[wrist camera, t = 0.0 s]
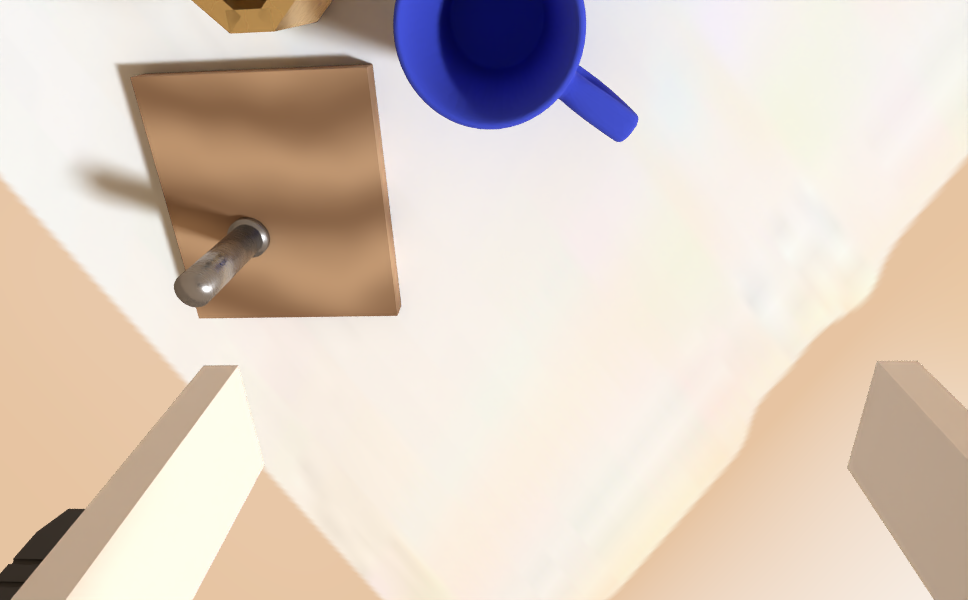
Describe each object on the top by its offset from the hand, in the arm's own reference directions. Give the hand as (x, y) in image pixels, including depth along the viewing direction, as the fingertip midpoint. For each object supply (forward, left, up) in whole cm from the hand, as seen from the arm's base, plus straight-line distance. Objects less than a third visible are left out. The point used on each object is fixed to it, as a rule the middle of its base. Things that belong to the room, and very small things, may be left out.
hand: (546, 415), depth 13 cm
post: (+6, -18, -27) cm, 33 cm away
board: (+4, -16, -28) cm, 33 cm away
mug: (-5, 0, -28) cm, 29 cm away
